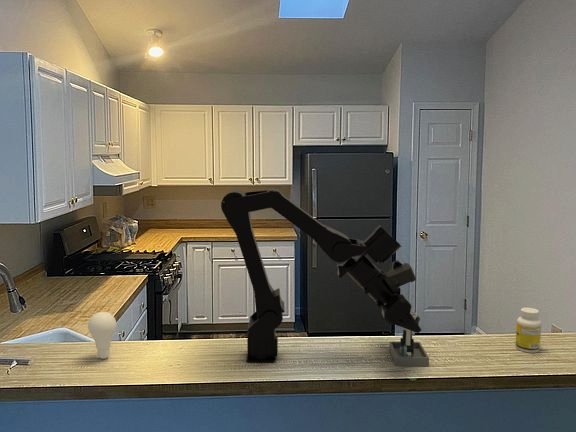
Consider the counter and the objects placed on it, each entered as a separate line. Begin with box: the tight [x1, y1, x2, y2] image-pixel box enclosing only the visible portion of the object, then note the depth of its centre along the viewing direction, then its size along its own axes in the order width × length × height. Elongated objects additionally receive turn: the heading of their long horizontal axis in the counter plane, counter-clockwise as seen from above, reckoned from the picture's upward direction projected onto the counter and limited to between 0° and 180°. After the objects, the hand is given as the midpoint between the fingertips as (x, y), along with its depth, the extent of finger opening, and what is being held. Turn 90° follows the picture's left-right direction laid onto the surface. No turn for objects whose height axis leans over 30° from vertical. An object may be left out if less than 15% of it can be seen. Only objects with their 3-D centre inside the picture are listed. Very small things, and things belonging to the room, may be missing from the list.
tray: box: [388, 341, 430, 367], centre depth 125 cm, size 7×9×2 cm
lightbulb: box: [87, 311, 117, 360], centre depth 123 cm, size 6×6×11 cm
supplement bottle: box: [515, 307, 542, 354], centre depth 130 cm, size 5×5×10 cm
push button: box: [399, 310, 421, 357], centre depth 125 cm, size 7×5×10 cm
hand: (415, 324), depth 124 cm, fingers open, 9 cm apart
